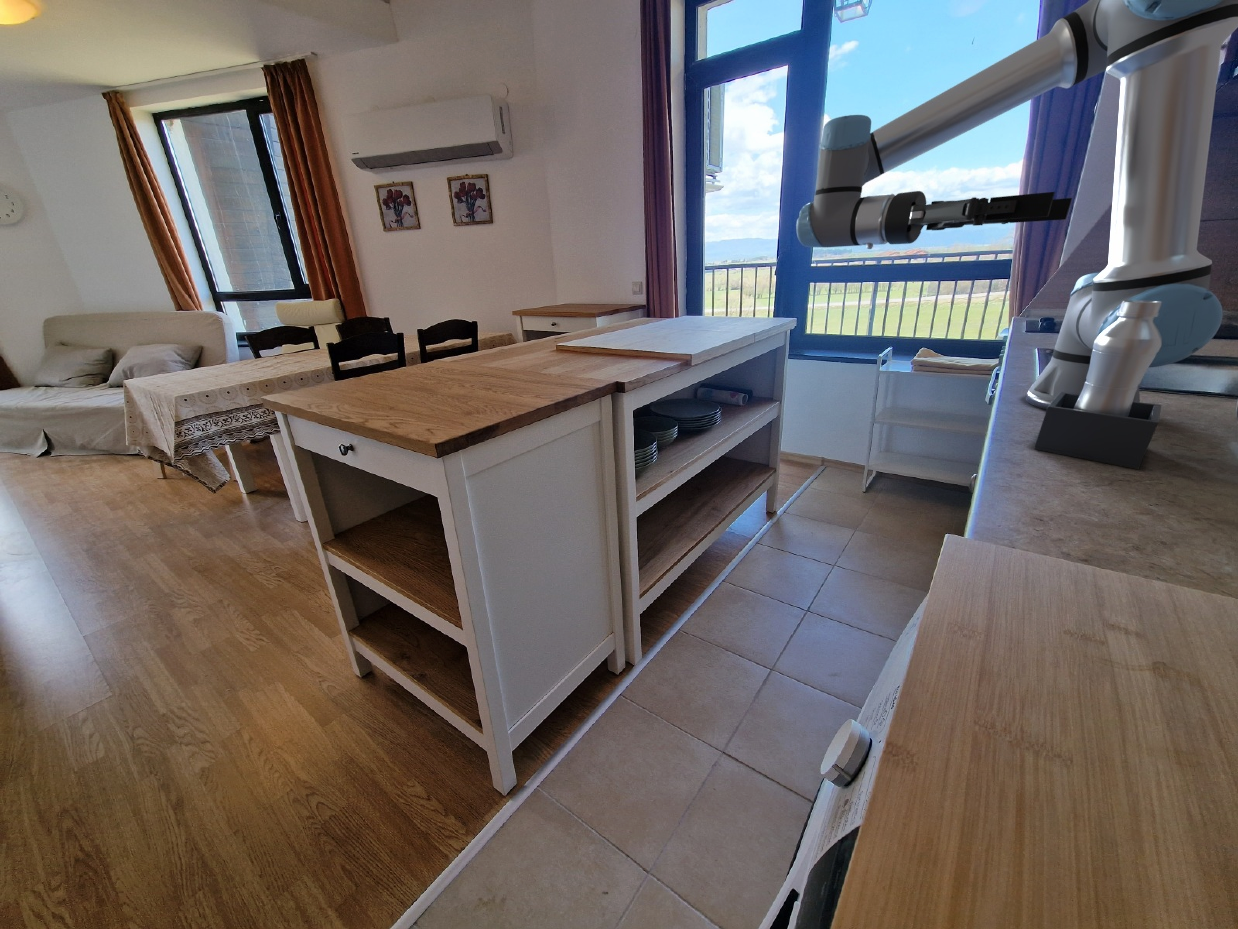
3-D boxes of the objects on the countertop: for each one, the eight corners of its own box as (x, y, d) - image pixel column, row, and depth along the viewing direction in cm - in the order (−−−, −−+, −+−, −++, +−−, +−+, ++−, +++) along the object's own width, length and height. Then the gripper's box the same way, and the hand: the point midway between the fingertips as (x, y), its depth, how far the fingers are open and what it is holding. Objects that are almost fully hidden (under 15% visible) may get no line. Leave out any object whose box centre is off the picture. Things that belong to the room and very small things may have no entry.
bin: (1047, 431, 78) (1060, 391, 75) (1143, 447, 70) (1161, 404, 68) (1033, 449, 71) (1047, 406, 69) (1138, 469, 64) (1158, 422, 61)
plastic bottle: (1046, 438, 74) (1093, 300, 66) (1090, 437, 74) (1142, 298, 66) (1084, 453, 68) (1140, 304, 60) (1132, 452, 68) (1195, 302, 60)
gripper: (914, 244, 88) (1066, 237, 74) (855, 244, 73) (1032, 236, 58) (923, 197, 85) (1083, 181, 71) (863, 188, 70) (1052, 164, 55)
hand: (1061, 206), depth 65 cm, fingers open, 13 cm apart
